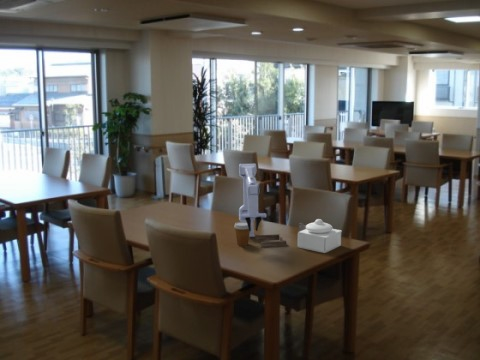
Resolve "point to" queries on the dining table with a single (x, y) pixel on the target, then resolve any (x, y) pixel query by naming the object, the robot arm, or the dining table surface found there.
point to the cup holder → (273, 236)
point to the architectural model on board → (302, 227)
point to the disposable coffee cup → (242, 233)
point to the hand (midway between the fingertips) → (253, 230)
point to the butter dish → (319, 237)
